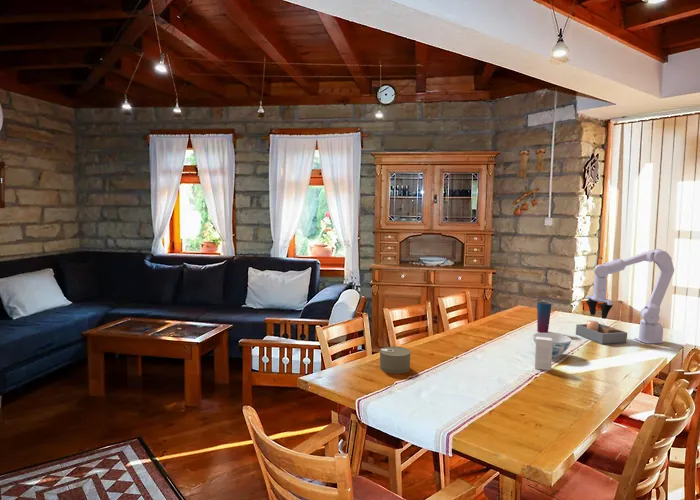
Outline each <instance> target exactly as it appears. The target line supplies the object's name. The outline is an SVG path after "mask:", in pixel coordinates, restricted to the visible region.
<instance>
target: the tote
mask: <svg viewBox="0 0 700 500" xmlns="http://www.w3.org/2000/svg"><path fill="white" fill-rule="evenodd" d="M601 327H611V326H609V325H607V324H606V325H605V324H603V323H600V322H599V325H598V332H597V331H594V330H592V329H589V328H587V323H584V324H583V323H582V324H581V323H579V324H578V323H577V324H576V326H575V335H576V336H579V337H582V338H584V339H587V340H590V341H591V342H594V343H597V344H600V345H604V346H605V345H618V344H627V343H628V332H626V331H624V330H621V329H617V328H614V327H611V328H614V329H616V330H618V333H604V334H603V333H601Z"/></svg>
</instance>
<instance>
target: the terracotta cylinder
mask: <svg viewBox="0 0 700 500" xmlns="http://www.w3.org/2000/svg"><path fill="white" fill-rule="evenodd" d="M599 323H600V322H599V321H596V320H587V322H586V324H587V328H589V329H592V330H594V331H597V332H598V325H599Z"/></svg>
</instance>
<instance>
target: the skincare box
mask: <svg viewBox="0 0 700 500" xmlns="http://www.w3.org/2000/svg"><path fill="white" fill-rule="evenodd" d="M552 342H553V341H552V338H546V337H536V343H535V342H534V344H535V347H534V350H535V351H534V369H536V370H541V371H542V370H543V371H551V370H552V358H553V357H552Z"/></svg>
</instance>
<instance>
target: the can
mask: <svg viewBox="0 0 700 500" xmlns="http://www.w3.org/2000/svg"><path fill="white" fill-rule="evenodd" d="M411 354H412V351H411V350H410V349H409V348H406V347H401V346H392V345H391V346H385V347H381V348H380V349H379V369H380V370H381V371H383V372H384V373H385V372H386V373H389V374H405V373H407V372H410V369H411Z"/></svg>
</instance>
